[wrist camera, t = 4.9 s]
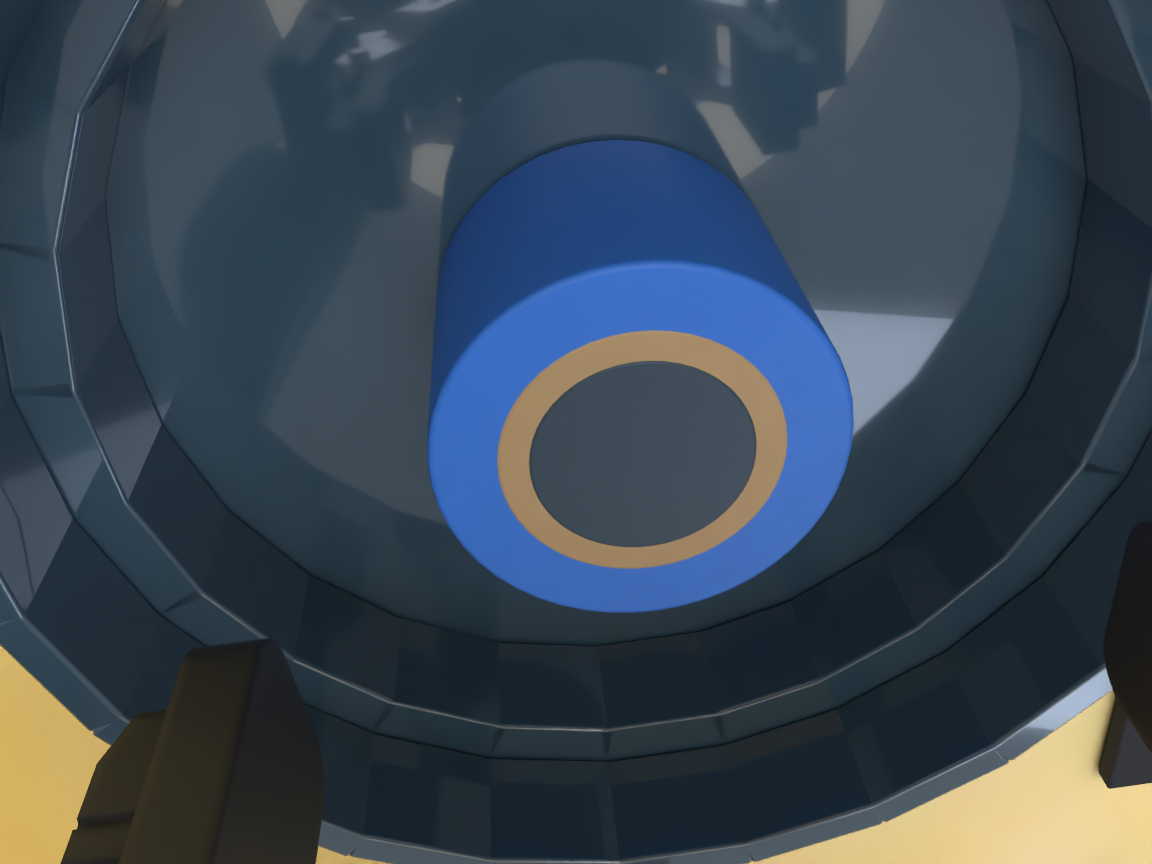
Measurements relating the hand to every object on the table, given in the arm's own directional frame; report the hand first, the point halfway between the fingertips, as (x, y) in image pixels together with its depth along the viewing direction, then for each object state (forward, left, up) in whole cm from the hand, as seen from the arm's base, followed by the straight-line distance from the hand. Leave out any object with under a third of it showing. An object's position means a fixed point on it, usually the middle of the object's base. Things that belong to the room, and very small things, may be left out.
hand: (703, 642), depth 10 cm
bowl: (0, 0, -8) cm, 8 cm away
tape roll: (0, 0, -7) cm, 7 cm away
